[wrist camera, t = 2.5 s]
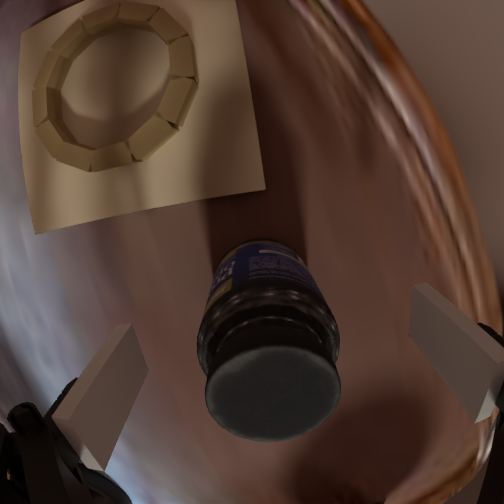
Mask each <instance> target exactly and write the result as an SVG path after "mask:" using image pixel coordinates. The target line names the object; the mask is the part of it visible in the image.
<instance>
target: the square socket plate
mask: <svg viewBox="0 0 504 504" xmlns="http://www.w3.org/2000/svg"><path fill="white" fill-rule="evenodd" d="M18 103H19V127H20V141H21V152H22V161H23V169H24V177H25V184H26V190H27V196H28V202H29V207H30V212H31V217H32V222H33V227H34V231H35V234H39V233H43V232H47V231H51V230H55V229H59V228H63V227H68V226H72V225H76V224H80V223H85V222H89V221H94V220H98V219H103V218H107V217H112V216H117V215H122V214H126V213H131V212H136V211H141V210H146V209H152V208H157V207H162V206H168V205H173V204H179V203H184V202H190V201H196V200H202V199H208V198H214V197H220V196H226V195H233V194H239V193H246V192H253V191H260V190H266V187H265V180H264V173H263V166H262V160H261V153H260V146H259V140H258V133H257V127H256V120H255V114H254V107H253V101H252V95H251V88H250V82H249V76H248V70H247V64H246V58H245V52H244V46H243V40H242V34H241V29H240V23H239V17H238V12H237V6H236V1H235V0H85V1H82V2H80V3H78V4H76V5H73V6H71V7H69V8H67V9H65V10H63V11H61V12H59V13H57V14H55V15H53V16H51V17H49V18H47V19H45V20H43V21H42V22H40V23H38V24H36V25H34V26H33V27H31V28H29V29H27V30H26V31H24V32H22V33H21V42H20V55H19V79H18Z"/></svg>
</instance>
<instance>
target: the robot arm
mask: <svg viewBox="0 0 504 504" xmlns="http://www.w3.org/2000/svg"><path fill="white" fill-rule="evenodd" d="M409 337H410V338H411V339H412V340H413V342H414V343H415V344H416V345H417V347H418V348H419V349H420V350H421V352H422V353H423V354H424V356H425V357H426V358H427V359H428V361H429V362H430V363H431V365H432V366H433V367H434V368H435V370H436V371H437V372H438V374H439V375H440V376H441V378H442V379H443V380H444V382H445V383H446V384H447V386H448V387H449V388H450V390H451V391H452V392H453V394H454V395H455V397H456V398H457V399H458V401H459V402H460V403H461V405H462V406H463V408H464V409H465V410H466V412H467V413H468V415H469V416H470V417H471V419H472V420H473V422H474V423H477V422H479V421H481V420H483V419H485V418H487V417H489V416H490V415H491V413H492V411H493V408H494V406H495V404H496V406H497V407H498V408H499V409H500V411H499V413H498V415H497V418H496V420H495V422H494V424H493V426H492V428H491V431H493V430H494V428H495V433H494V438H493V443H492V448H491V453H490V458H489V462H488V466H487V470H486V474H485V478H484V481H483V485H482V488H481V492H480V495H479V498H478V501H477V504H504V340H503V338H502V337H501V336H500V335H498V334H497V332H495V331H494V330H493V329H492V328H491V327H489V326H487V325H484V324H482V323H477V324H476V323H475V322H474V321H473V320H471V319H470V318H469V317H468V316H467V315H466V314H464V313H463V312H462V311H461V310H460V309H458V308H457V307H456V306H455V305H454V304H452V303H451V302H450V301H449V300H447V299H446V298H445V297H444V296H442V295H441V294H440V293H439V292H437V291H436V290H435V289H434V288H432V287H431V286H430V285H429V284H427V283H426V282H425V283H420V284H416V285H412V301H411V315H410V327H409ZM148 371H149V370H148V367H147V364H146V362H145V359H144V356H143V354H142V351H141V348H140V345H139V342H138V339H137V337H136V334H135V331H134V328H133V325H132V323H131V324H118V325H117V327H116V328H115V329H114V331H113V332H112V333H111V335H110V336H109V337H108V339H107V340H106V341H105V343H104V344H103V345H102V347H101V348H100V349H99V351H98V352H97V353H96V355H95V356H94V357H93V359H92V360H91V361H90V363H89V364H88V365H87V367H86V368H85V370H84V371H83V372H82V374H81V375H80V377H79V378H75V379H74V380H72V381H71V382H70V383H68V384H67V385H66V387H65V388H64V390H63V391H62V394H60V395H59V396H58V398H57V400H56V401H55V402H54V403H53V405H52V406H51V408H50V409H49V411H48V412H47V413H46V415H45V416H44V418H43V417H42V415H41V414H40V412H39V411H38V409H37V407H36V406H35V404H33V403H30V402H25V403H21V404H19V405H17V406H15V407H14V408H13V409H12V410H11V411H10V412H9V414H8V417H7V420H8V421H9V422H10V424H11V425H12V427H13V428H14V430H15V431H16V432H12V433H9V432H8V430H7V429H6V428H5V426H4V425H3V424H1V423H0V504H132V503H131V501H130V499H129V498H128V497H127V495H126V494H125V493H124V492H123V491H121V490H120V489H119V488H118V487H117V486H115V485H114V484H113V483H111V482H110V481H108V480H107V479H105V478H104V477H102V476H100V475H99V474H97V473H95V472H94V471H92V470H90V469H94V470H99V471H105V468H106V466H107V464H108V461H109V459H110V457H111V454H112V452H113V449H114V447H115V445H116V442H117V440H118V438H119V435H120V433H121V431H122V429H123V426H124V424H125V422H126V419H127V417H128V415H129V413H130V410H131V408H132V406H133V404H134V402H135V399H136V397H137V395H138V393H139V390H140V388H141V386H142V384H143V382H144V380H145V377H146V375H147V373H148ZM495 426H496V427H495ZM80 459H81V460H82V462H83V463H84V464H85V466H86V467H87V468H86V467H84V466H82V465H80V464H78V462H79V460H80ZM88 468H89V469H88ZM7 472H8V473H9V474H10V479H9V480H8V479H7Z"/></svg>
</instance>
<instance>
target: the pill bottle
mask: <svg viewBox="0 0 504 504" xmlns="http://www.w3.org/2000/svg"><path fill="white" fill-rule="evenodd" d="M339 336H340V335H339V331H338V327H337V324H336V320H335V318H334V316H333V315H332V312H331V310H330V309H329V307H328V305H327V303H326V301H325V299H324V297H323V295H322V293H321V292H320V290H319V288H318V286H317V284H316V283H315V281H314V279H313V277H312V275H311V273H310V272H309V270H308V268H307V266H306V265H305V263H304V262H303V260H302V259H301V257H300V256H299V255H298V253H297V252H296V251H294V250H293V249H292V248H290V247H289V246H287V245H285V244H282V243H280V242H278V241H274V240H269V239H255V240H249V241H247V242H244V243H242V244H240V245H238V246H237V247H235V248H234V249H232V250H230V251H229V252H228V253H227V254H225V255H224V257H223V259H222V260H221V262H220V263H219V265H218V267H217V270H216V272H215V275H214V279H213V283H212V286H211V289H210V293H209V297H208V300H207V304H206V307H205V311H204V315H203V318H202V322H201V325H200V328H199V333H198V336H197V355H198V359H199V363H200V365H201V368H202V370H203V372H204V373H205V375H206V377H207V381H206V387H205V400H206V405H207V408H208V410H209V413H210V414H211V416H212V417H213V418H214V420H215V421H216V422H217V423H218V424H219V425H220V426H221V427H222V428H225V429H226V430H228V431H229V432H230V433H233V434H234V435H236V436H239V437H242V438H244V439H249V440H254V441H263V442H271V441H283V440H288V439H292V438H296V437H299V436H302V435H304V434H306V433H308V432H310V431H312V430H313V429H315V428H317V427H318V426H320V425H321V424H322V423H323V422H324V421H325V420H327V418H328V417H329V416H330V415H331V414H332V413H333V411H334V409H335V408H336V406H337V404H338V402H339V398H340V394H341V381H340V378H339V375H338V372H337V368H336V365H335V363H336V361H337V357H338V352H339V343H340V337H339Z"/></svg>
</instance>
